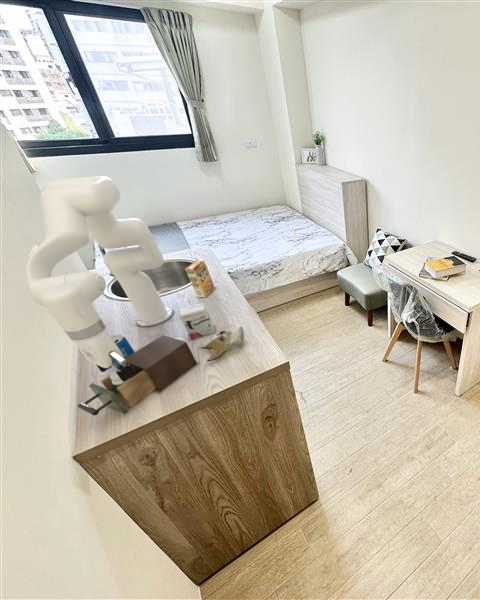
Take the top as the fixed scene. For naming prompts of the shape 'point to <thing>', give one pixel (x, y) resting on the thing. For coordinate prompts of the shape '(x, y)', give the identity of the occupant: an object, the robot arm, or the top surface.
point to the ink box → (197, 320)
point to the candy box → (200, 278)
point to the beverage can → (122, 346)
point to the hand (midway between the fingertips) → (118, 373)
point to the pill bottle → (117, 380)
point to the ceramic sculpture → (224, 343)
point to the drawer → (129, 391)
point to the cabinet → (163, 360)
